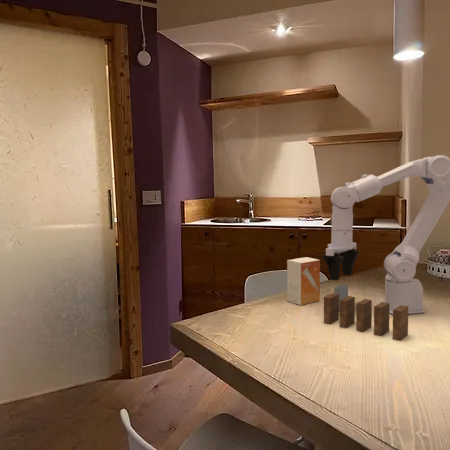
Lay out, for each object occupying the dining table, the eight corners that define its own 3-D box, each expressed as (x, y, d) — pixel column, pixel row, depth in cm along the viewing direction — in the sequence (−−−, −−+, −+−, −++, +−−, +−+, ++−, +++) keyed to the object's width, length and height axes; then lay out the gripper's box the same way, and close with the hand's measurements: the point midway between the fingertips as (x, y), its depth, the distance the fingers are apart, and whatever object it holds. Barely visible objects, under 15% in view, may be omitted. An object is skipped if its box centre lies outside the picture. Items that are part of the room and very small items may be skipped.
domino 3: (371, 326, 109) (371, 299, 108) (363, 332, 105) (363, 304, 105) (364, 325, 110) (364, 298, 109) (356, 330, 107) (356, 303, 106)
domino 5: (407, 334, 103) (408, 306, 102) (400, 340, 99) (400, 311, 99) (400, 333, 104) (400, 305, 103) (392, 339, 101) (392, 309, 100)
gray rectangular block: (347, 308, 124) (348, 284, 124) (340, 312, 121) (340, 288, 120) (342, 307, 126) (342, 283, 125) (334, 311, 122) (334, 287, 121)
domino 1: (338, 319, 115) (338, 294, 114) (329, 324, 111) (329, 298, 111) (332, 318, 116) (332, 293, 115) (323, 323, 113) (323, 297, 112)
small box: (301, 305, 128) (300, 262, 127) (286, 301, 133) (286, 259, 132) (320, 301, 133) (320, 259, 131) (306, 296, 138) (305, 256, 136)
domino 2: (354, 323, 112) (354, 297, 111) (346, 328, 108) (346, 301, 108) (348, 321, 113) (348, 295, 112) (339, 326, 110) (339, 300, 109)
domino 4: (389, 330, 106) (389, 303, 105) (381, 336, 102) (381, 307, 102) (381, 329, 107) (382, 301, 106) (373, 334, 104) (374, 306, 103)
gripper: (340, 226, 129) (339, 271, 130) (316, 231, 118) (315, 279, 120) (363, 228, 124) (362, 274, 126) (339, 233, 113) (338, 283, 115)
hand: (340, 277), depth 122 cm, fingers open, 7 cm apart
